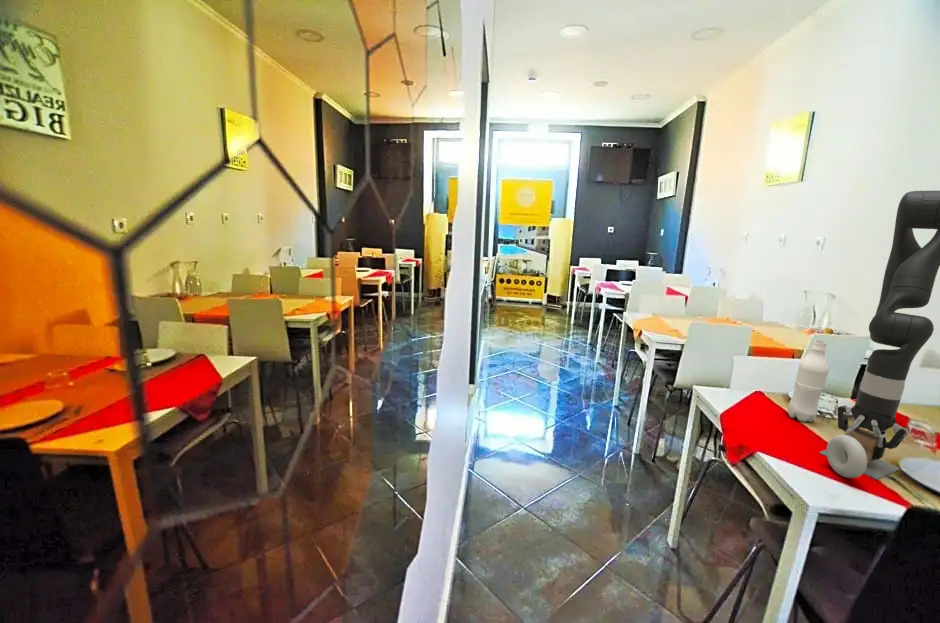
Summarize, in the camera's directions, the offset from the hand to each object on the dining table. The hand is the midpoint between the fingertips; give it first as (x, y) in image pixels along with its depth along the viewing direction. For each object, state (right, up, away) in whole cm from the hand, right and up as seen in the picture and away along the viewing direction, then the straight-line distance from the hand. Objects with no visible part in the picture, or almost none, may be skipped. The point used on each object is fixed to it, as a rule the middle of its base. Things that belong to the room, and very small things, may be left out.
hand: (861, 453), depth 108 cm
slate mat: (0, -2, 0) cm, 2 cm away
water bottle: (+2, +3, +23) cm, 23 cm away
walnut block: (0, -1, 0) cm, 1 cm away
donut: (-10, -3, -6) cm, 12 cm away
